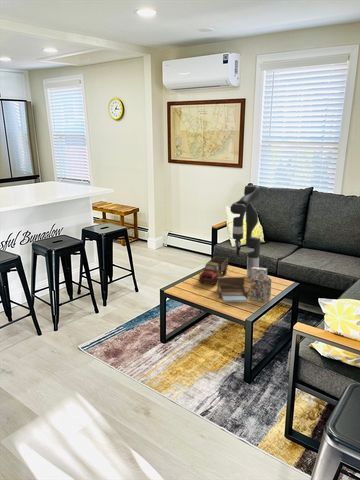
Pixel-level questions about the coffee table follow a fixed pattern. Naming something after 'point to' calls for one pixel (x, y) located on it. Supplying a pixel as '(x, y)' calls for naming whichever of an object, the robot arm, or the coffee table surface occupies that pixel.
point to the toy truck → (214, 270)
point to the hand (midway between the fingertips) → (237, 255)
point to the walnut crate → (231, 286)
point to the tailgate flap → (234, 298)
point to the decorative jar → (260, 288)
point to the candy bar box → (258, 271)
